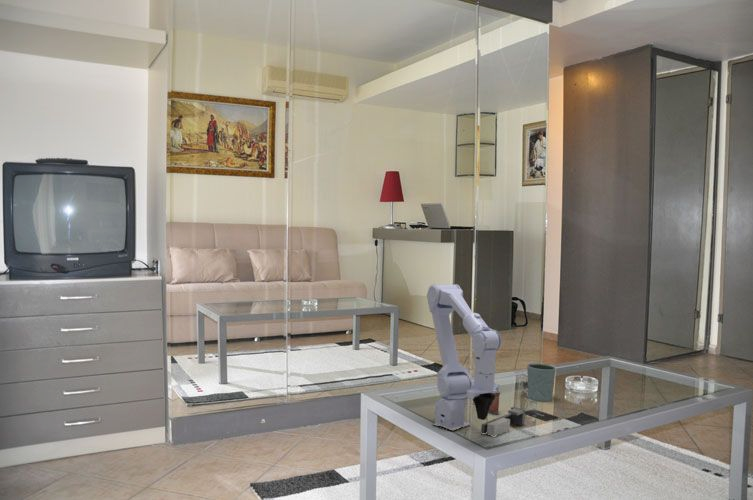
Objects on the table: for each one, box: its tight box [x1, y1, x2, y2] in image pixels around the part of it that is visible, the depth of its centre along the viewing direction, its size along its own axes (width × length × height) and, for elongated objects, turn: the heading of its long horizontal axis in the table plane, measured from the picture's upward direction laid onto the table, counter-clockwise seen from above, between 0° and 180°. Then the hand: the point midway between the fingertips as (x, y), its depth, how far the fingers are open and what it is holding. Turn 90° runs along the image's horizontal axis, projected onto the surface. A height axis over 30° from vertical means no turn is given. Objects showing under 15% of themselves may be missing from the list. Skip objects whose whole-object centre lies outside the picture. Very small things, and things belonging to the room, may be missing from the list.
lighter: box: [488, 390, 501, 416], centre depth 204 cm, size 8×3×10 cm, turn 21°
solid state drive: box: [525, 408, 559, 422], centre depth 203 cm, size 7×10×1 cm
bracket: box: [480, 406, 526, 433], centre depth 187 cm, size 18×4×5 cm, turn 138°
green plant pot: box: [526, 362, 557, 403], centre depth 224 cm, size 10×10×12 cm
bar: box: [486, 418, 511, 436], centre depth 183 cm, size 9×2×4 cm, turn 138°
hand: (481, 418), depth 175 cm, fingers closed
